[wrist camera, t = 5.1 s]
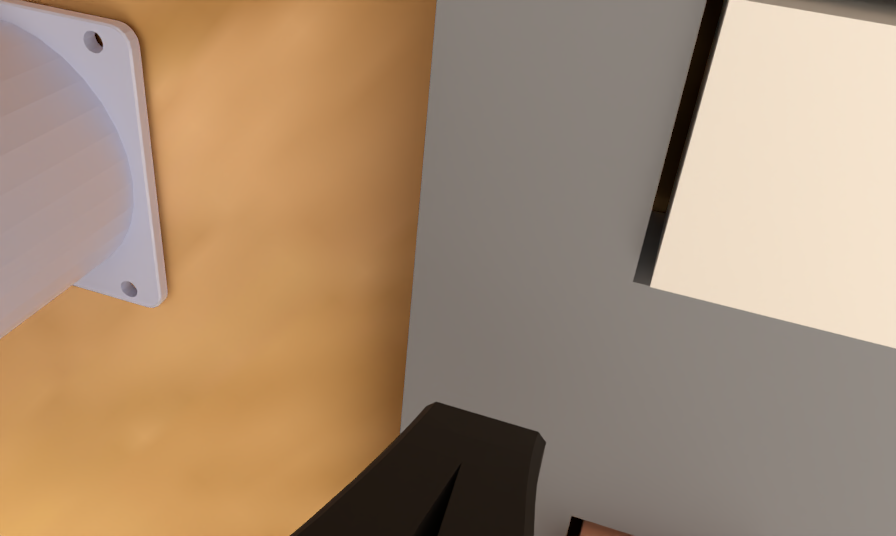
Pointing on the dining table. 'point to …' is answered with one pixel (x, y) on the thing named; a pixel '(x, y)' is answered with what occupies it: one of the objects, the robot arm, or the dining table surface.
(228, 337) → the dining table surface
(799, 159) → the white key
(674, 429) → the key console
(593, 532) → the terracotta key
